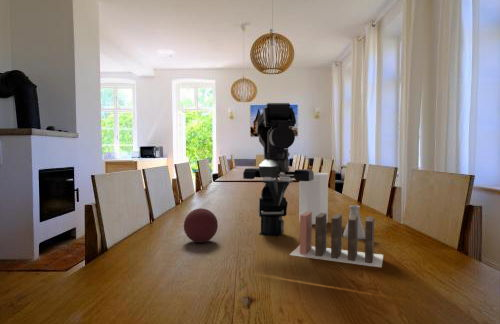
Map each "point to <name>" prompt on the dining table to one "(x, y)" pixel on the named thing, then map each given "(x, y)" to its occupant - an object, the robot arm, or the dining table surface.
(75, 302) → the dining table surface
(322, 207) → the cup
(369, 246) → the domino
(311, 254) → the runner
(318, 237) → the domino
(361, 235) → the flask
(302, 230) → the domino
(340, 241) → the domino
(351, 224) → the domino
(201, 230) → the decorative ball
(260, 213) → the robot arm
